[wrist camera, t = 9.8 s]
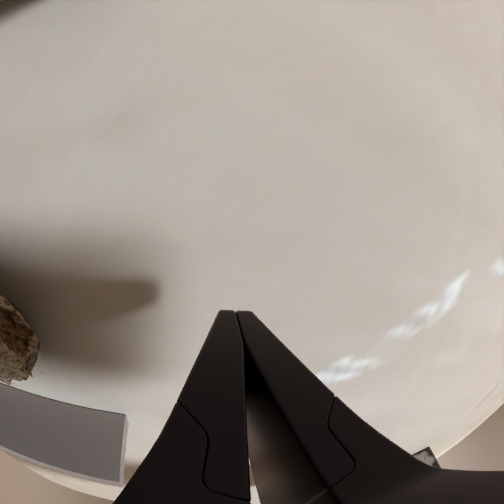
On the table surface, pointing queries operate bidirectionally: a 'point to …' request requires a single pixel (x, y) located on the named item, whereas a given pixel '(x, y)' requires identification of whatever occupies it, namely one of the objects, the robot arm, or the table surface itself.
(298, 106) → the table surface
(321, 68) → the table surface
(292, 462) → the robot arm
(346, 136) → the table surface
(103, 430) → the box
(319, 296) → the table surface
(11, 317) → the rock sample
